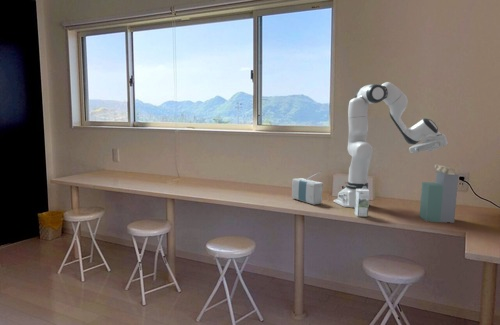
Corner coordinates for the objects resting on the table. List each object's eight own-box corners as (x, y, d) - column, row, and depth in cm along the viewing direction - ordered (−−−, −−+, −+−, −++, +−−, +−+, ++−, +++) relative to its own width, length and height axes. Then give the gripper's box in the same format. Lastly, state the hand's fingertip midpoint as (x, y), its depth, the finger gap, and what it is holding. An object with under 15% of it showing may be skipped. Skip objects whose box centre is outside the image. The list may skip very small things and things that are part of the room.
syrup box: (364, 214, 219) (366, 188, 218) (368, 217, 214) (369, 190, 212) (354, 214, 219) (355, 188, 217) (357, 217, 213) (359, 190, 212)
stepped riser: (419, 216, 217) (422, 170, 214) (446, 217, 216) (450, 171, 213) (426, 221, 207) (429, 173, 204) (454, 222, 206) (458, 174, 203)
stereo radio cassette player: (291, 199, 255) (292, 167, 253) (301, 197, 260) (302, 167, 257) (313, 205, 238) (314, 172, 235) (323, 204, 242) (325, 171, 240)
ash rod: (434, 169, 222) (434, 164, 222) (439, 169, 222) (439, 164, 222) (449, 174, 203) (449, 169, 203) (454, 174, 203) (454, 169, 203)
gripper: (410, 142, 238) (404, 148, 227) (447, 133, 226) (442, 138, 215) (414, 152, 239) (408, 158, 228) (450, 143, 226) (446, 149, 215)
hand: (425, 148), depth 221 cm, fingers open, 8 cm apart
